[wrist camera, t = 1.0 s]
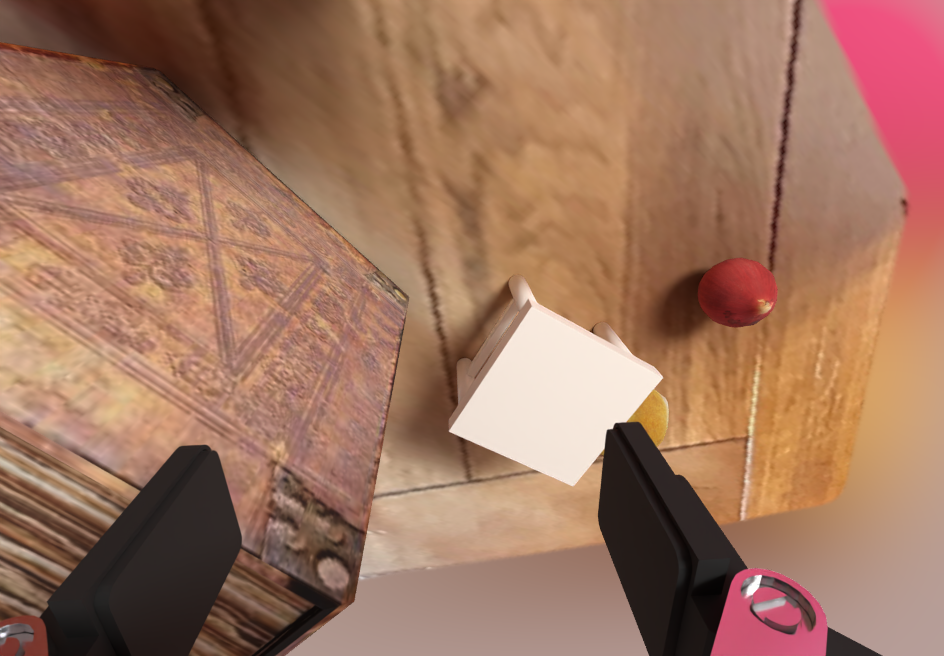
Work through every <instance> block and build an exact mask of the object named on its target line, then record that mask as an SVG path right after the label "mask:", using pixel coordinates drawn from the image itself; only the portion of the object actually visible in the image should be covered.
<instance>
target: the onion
mask: <svg viewBox="0 0 944 656" xmlns="http://www.w3.org/2000/svg"><path fill="white" fill-rule="evenodd" d="M777 290H778V289H777V286H776V283H775V279H774V276H773V275H772V273H771V272H770V271H769V270H767V269H766V268H765V267H764V266H763V265H761V264H760V263H759V262H756V261H752V260H748V259H744V258H735V259H728V260H725V261H723V262H721V263H719V264H717V265H715V266H713V267H712V268H711V269H710V270H709V271H707V272H706V273H705V274H704V276H703V278H702V280H701V281H700V283H699V288H698V300H699V303H700V306H701V309H702V310H703V311H704V312H705V313H706V314H707V315H708V316H709V317H710V318H711V319H712V320H713V321H715V322H717V323H719V324H722V325H726V326H729V327H743V326H750V325H754V324H756V323H757V322H759V321H760V320H762V319H763V318H765V317H766V316H768V314H769V313H770V312H771V311H772V310H773V308H774V306H775V304H776V301H777Z"/></svg>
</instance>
